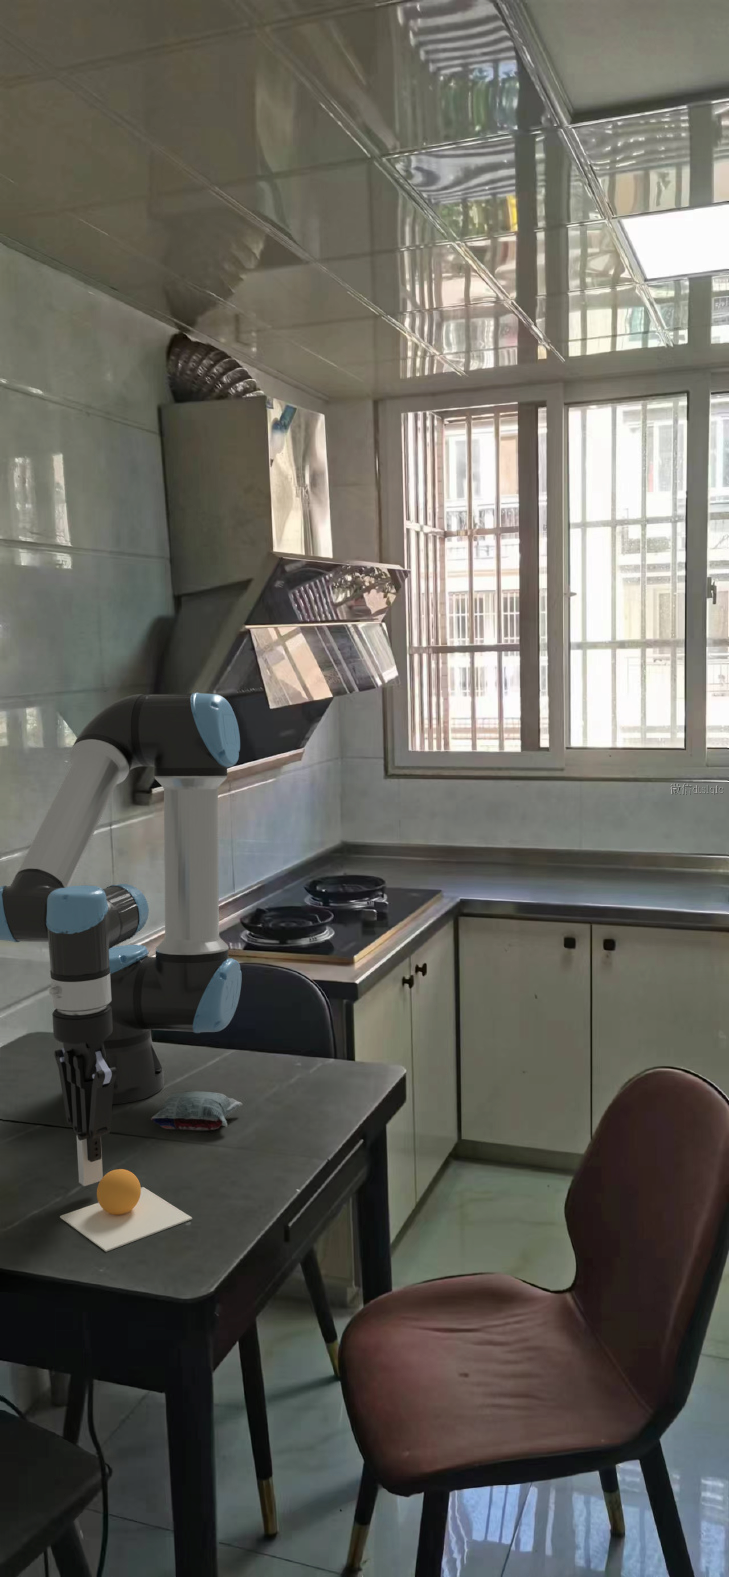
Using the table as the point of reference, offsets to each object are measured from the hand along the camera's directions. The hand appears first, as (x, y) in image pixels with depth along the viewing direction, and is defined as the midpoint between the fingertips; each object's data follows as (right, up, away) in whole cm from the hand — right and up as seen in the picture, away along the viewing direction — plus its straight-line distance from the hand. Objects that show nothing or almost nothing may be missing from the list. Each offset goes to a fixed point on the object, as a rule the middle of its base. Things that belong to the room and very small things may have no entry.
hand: (91, 1181), depth 156 cm
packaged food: (+11, 0, +24) cm, 26 cm away
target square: (+6, -2, -7) cm, 9 cm away
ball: (+5, 0, -5) cm, 7 cm away
